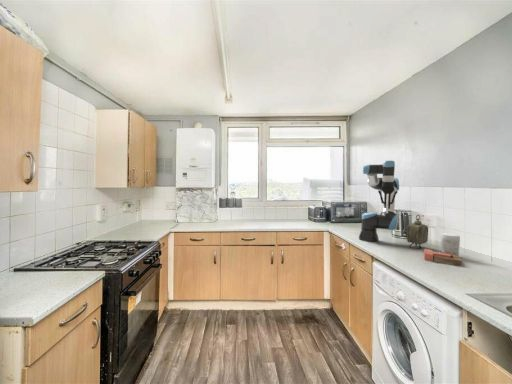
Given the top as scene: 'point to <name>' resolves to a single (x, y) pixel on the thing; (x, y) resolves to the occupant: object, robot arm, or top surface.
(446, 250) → the supplement tub
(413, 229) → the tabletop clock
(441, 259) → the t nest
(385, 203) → the robot arm
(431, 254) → the t block
